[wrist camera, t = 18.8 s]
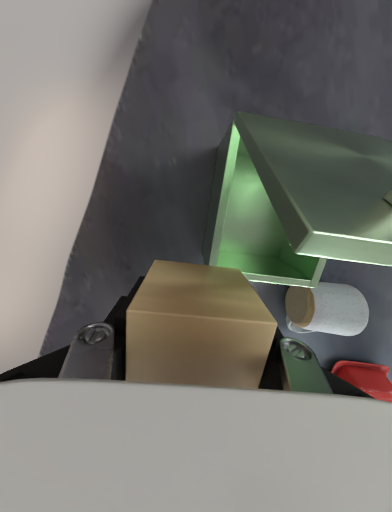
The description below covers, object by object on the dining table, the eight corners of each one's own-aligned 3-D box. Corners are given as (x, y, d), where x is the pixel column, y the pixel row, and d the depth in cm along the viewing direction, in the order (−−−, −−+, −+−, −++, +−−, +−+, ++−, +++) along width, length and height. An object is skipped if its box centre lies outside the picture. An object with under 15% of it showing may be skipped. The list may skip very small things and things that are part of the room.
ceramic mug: (288, 271, 30) (320, 296, 23) (335, 276, 30) (381, 301, 23) (273, 325, 33) (296, 361, 26) (315, 328, 34) (350, 365, 27)
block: (239, 268, 11) (279, 323, 6) (225, 337, 12) (247, 424, 8) (154, 259, 10) (125, 309, 6) (150, 330, 12) (124, 418, 7)
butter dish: (311, 396, 39) (343, 448, 31) (332, 353, 36) (374, 399, 28) (360, 400, 40) (404, 452, 32) (385, 360, 37) (441, 406, 28)
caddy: (280, 262, 30) (316, 288, 21) (201, 252, 29) (206, 275, 20) (309, 161, 25) (370, 143, 17) (218, 146, 24) (233, 118, 16)
